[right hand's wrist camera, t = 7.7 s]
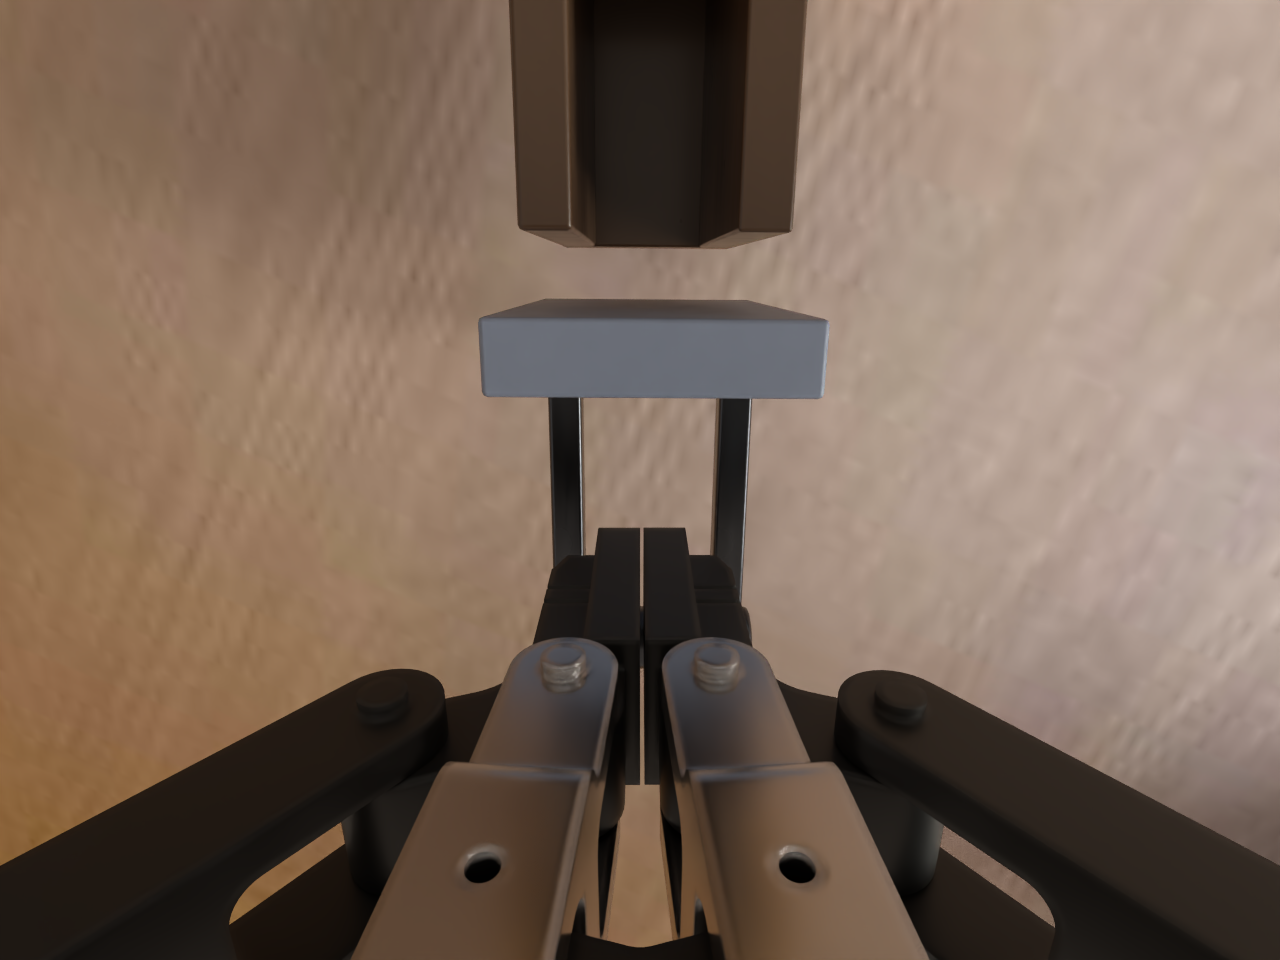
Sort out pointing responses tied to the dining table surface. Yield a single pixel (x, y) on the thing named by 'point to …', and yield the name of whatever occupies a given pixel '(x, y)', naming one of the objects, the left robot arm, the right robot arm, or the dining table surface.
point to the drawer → (655, 223)
